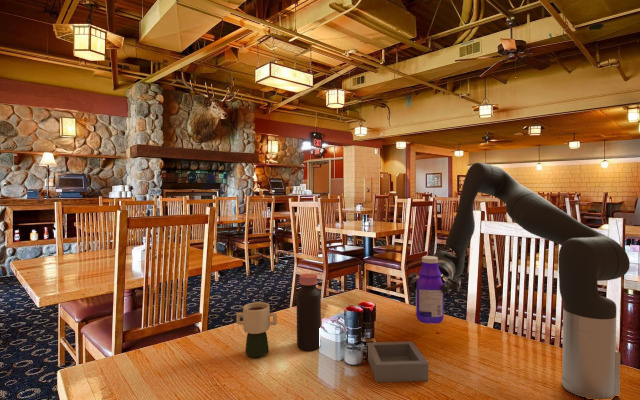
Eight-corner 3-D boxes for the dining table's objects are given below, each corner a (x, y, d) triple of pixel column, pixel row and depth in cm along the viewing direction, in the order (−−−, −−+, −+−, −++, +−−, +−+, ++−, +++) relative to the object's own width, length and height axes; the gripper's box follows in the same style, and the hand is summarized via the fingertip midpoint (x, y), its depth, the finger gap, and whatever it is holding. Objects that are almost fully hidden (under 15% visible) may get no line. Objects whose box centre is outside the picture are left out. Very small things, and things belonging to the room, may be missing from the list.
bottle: (441, 317, 101) (440, 255, 100) (446, 325, 95) (445, 259, 95) (414, 316, 102) (413, 255, 101) (417, 324, 96) (417, 259, 95)
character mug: (279, 348, 101) (278, 302, 101) (274, 360, 94) (274, 310, 93) (240, 347, 102) (240, 301, 101) (233, 359, 95) (232, 310, 94)
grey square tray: (412, 356, 96) (412, 341, 95) (428, 380, 84) (428, 363, 83) (367, 357, 95) (367, 342, 95) (376, 382, 83) (376, 365, 83)
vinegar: (321, 351, 99) (320, 278, 98) (296, 351, 99) (295, 278, 98) (321, 340, 106) (320, 272, 105) (297, 341, 106) (296, 272, 105)
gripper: (415, 260, 114) (401, 271, 99) (464, 264, 107) (457, 276, 93) (415, 283, 114) (401, 298, 100) (464, 289, 108) (457, 306, 93)
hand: (428, 288), depth 96 cm, fingers closed on bottle, 7 cm apart
